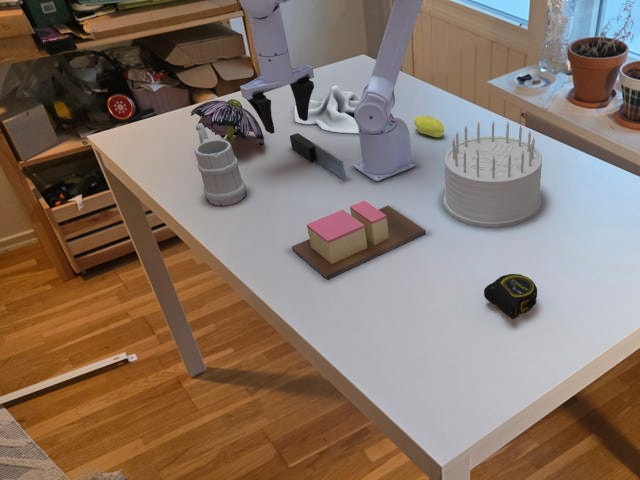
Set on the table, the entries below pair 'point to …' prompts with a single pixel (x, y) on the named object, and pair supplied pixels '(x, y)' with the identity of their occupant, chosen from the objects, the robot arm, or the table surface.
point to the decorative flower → (228, 120)
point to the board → (398, 233)
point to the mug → (219, 170)
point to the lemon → (429, 126)
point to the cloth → (333, 112)
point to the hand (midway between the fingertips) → (287, 125)
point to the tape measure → (512, 294)
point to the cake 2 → (492, 180)
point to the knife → (317, 155)
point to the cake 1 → (337, 236)
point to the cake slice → (371, 221)
